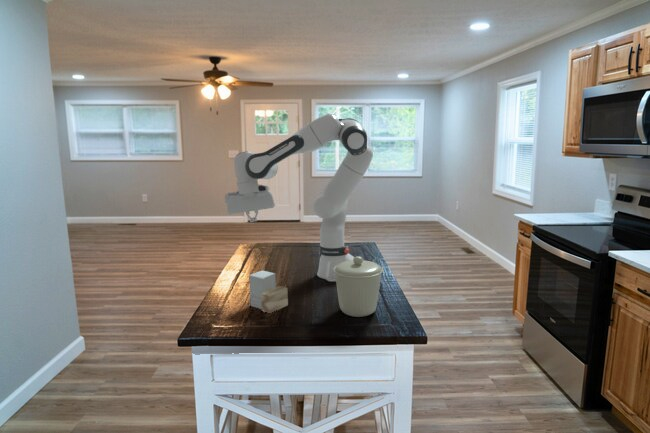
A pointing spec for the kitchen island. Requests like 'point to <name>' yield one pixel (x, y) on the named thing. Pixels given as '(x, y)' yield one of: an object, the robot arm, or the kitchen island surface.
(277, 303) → the block
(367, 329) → the kitchen island surface
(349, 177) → the robot arm
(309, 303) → the kitchen island surface
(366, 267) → the canister
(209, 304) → the kitchen island surface
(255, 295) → the supplement box
